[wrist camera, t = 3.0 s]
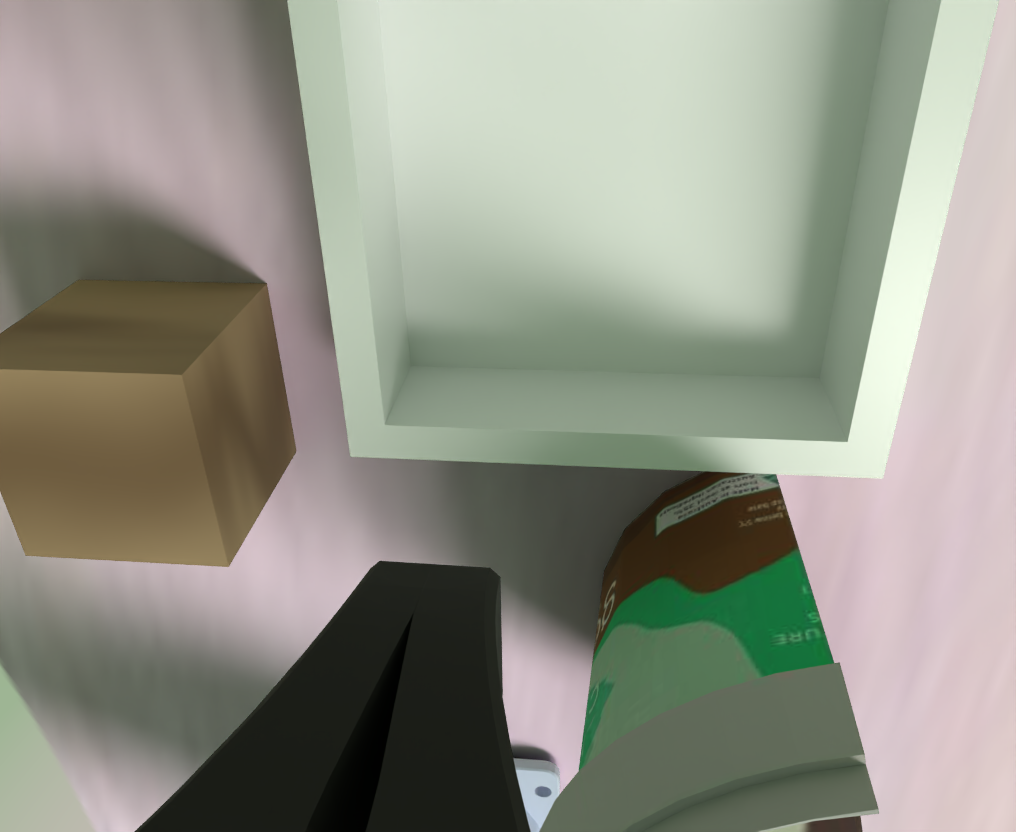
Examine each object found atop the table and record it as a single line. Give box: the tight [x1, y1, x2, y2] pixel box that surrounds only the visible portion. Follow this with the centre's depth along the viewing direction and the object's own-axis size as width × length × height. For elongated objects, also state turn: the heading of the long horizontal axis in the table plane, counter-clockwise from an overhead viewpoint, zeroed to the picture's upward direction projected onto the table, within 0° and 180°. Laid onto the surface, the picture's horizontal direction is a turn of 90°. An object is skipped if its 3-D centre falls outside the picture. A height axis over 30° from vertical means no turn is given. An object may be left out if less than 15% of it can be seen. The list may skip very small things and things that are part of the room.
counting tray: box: [287, 0, 999, 479], centre depth 16 cm, size 11×11×3 cm
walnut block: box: [0, 280, 296, 567], centre depth 19 cm, size 4×4×4 cm
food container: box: [539, 471, 879, 832], centre depth 19 cm, size 12×6×10 cm, turn 16°
